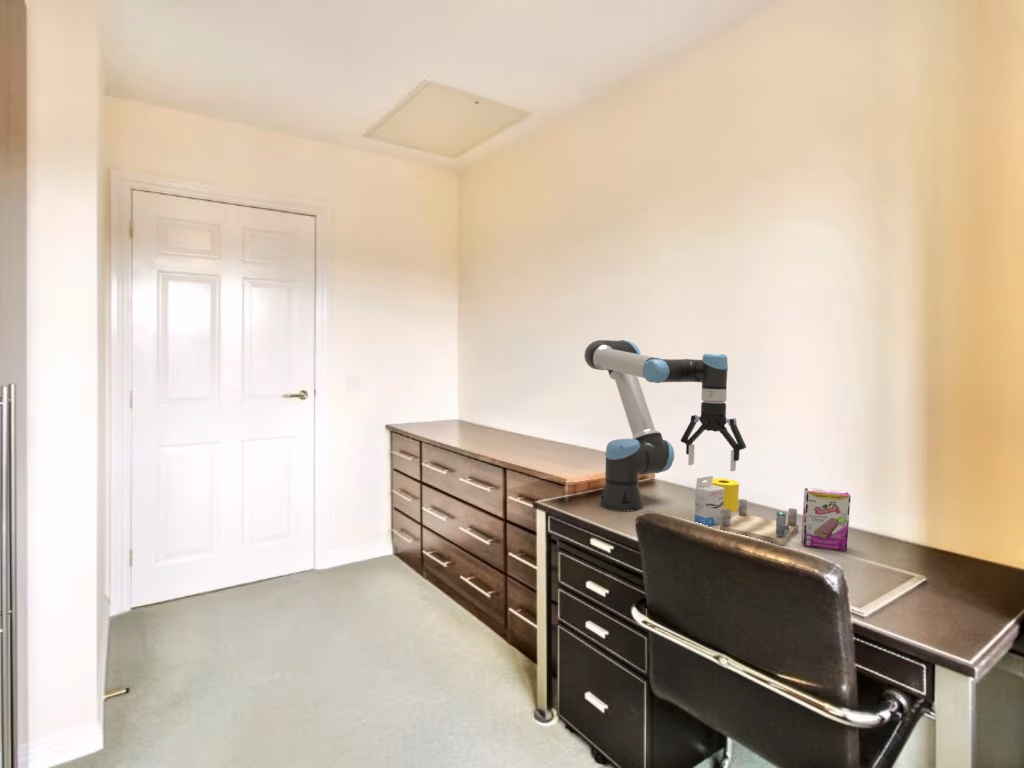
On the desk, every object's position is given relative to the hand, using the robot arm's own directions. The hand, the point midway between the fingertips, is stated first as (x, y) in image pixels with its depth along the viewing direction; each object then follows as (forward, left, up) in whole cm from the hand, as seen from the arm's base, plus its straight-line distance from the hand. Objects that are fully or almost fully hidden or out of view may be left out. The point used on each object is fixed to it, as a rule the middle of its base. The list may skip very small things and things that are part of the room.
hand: (711, 467), depth 180 cm
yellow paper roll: (-3, +21, -19) cm, 28 cm away
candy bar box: (+33, +1, -18) cm, 38 cm away
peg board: (+15, +2, -18) cm, 24 cm away
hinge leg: (+23, -2, -16) cm, 28 cm away
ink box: (0, 0, -19) cm, 18 cm away
